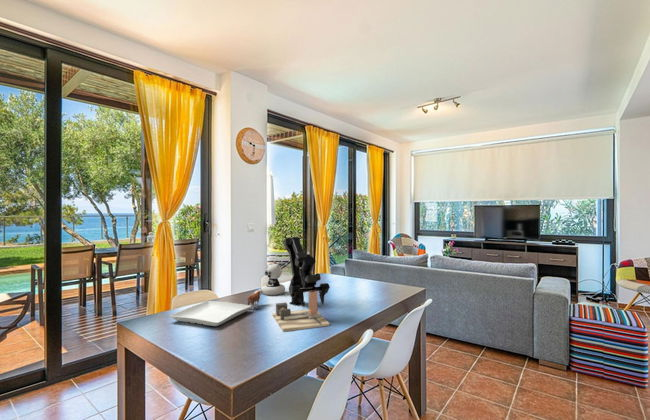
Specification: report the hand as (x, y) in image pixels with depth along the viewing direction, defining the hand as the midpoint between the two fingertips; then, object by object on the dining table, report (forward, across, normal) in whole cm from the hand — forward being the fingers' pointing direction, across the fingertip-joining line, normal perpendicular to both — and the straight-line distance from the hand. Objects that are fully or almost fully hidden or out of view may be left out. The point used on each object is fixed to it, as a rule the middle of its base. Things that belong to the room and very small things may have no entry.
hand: (313, 305), depth 155 cm
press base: (+4, -7, +6) cm, 9 cm away
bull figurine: (-18, -23, +28) cm, 40 cm away
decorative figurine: (-35, -8, +45) cm, 58 cm away
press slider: (+3, -6, +5) cm, 8 cm away
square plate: (-10, -44, +20) cm, 50 cm away
